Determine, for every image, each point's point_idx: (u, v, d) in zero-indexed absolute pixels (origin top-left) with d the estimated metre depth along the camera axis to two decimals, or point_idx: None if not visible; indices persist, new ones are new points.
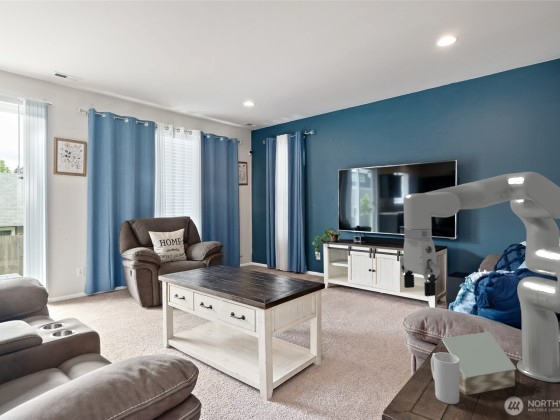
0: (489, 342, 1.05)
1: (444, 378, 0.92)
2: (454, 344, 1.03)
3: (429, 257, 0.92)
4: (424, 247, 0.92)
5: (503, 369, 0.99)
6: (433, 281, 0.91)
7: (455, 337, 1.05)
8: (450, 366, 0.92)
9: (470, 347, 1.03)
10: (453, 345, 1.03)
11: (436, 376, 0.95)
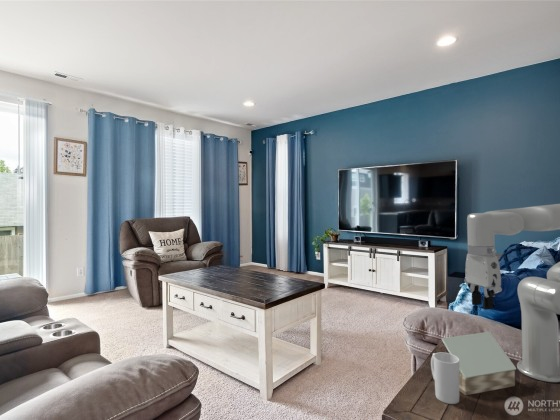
0: (489, 342, 1.05)
1: (444, 378, 0.92)
2: (454, 344, 1.03)
3: (494, 272, 1.00)
4: (490, 263, 1.01)
5: (503, 369, 0.99)
6: (491, 297, 1.02)
7: (455, 337, 1.05)
8: (450, 366, 0.92)
9: (470, 347, 1.03)
10: (453, 345, 1.03)
11: (436, 376, 0.95)
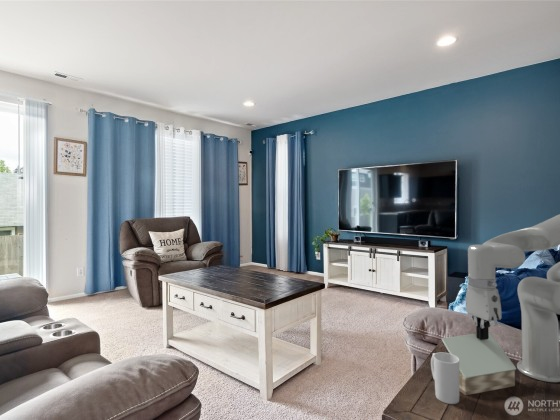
0: (489, 342, 1.05)
1: (444, 378, 0.93)
2: (454, 344, 1.03)
3: (495, 305, 1.01)
4: (490, 296, 1.01)
5: (503, 369, 0.99)
6: None
7: (455, 337, 1.05)
8: (450, 366, 0.92)
9: (470, 347, 1.03)
10: (453, 345, 1.03)
11: (436, 376, 0.95)
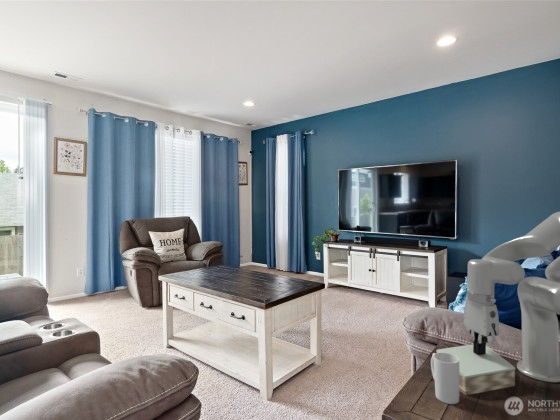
0: None
1: (444, 378, 0.92)
2: (449, 353, 1.06)
3: (493, 321, 1.01)
4: (488, 312, 1.01)
5: (502, 368, 0.99)
6: None
7: (449, 348, 1.08)
8: (450, 366, 0.92)
9: (465, 354, 1.05)
10: None
11: (436, 376, 0.95)
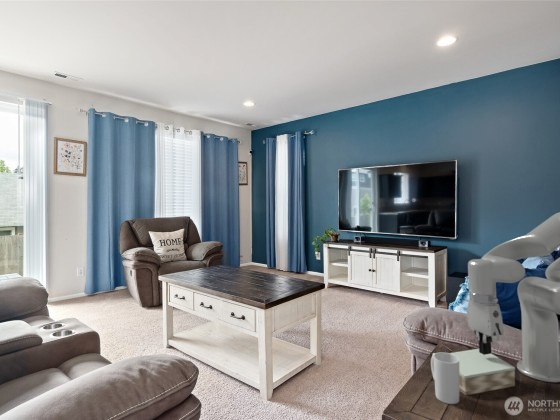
0: None
1: (444, 378, 0.92)
2: None
3: (496, 321, 1.01)
4: (491, 312, 1.01)
5: (501, 368, 0.99)
6: None
7: None
8: (450, 366, 0.92)
9: (465, 358, 1.06)
10: None
11: (436, 376, 0.95)
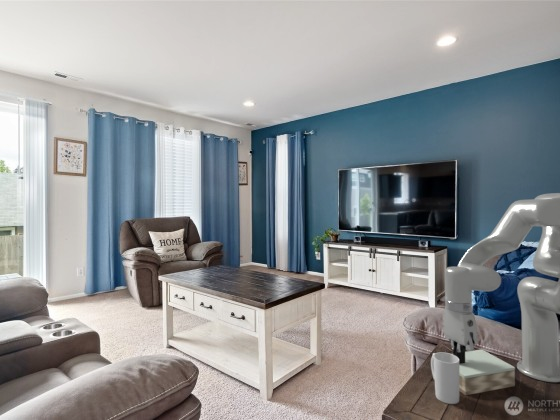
0: (483, 355, 1.08)
1: (444, 378, 0.92)
2: None
3: (470, 330, 0.99)
4: (466, 321, 0.99)
5: (501, 368, 0.99)
6: None
7: None
8: (450, 366, 0.92)
9: None
10: None
11: (436, 376, 0.95)
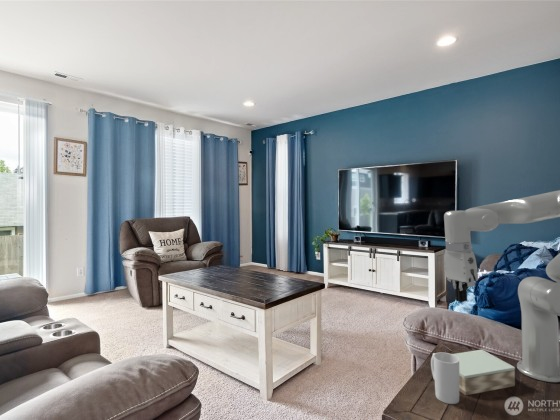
0: (483, 355, 1.08)
1: (444, 378, 0.92)
2: None
3: (471, 267, 1.04)
4: (467, 258, 1.04)
5: (501, 368, 0.99)
6: None
7: None
8: (450, 366, 0.92)
9: (464, 359, 1.06)
10: None
11: (436, 376, 0.95)
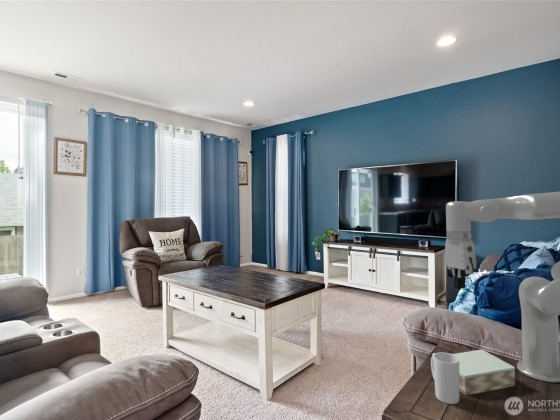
0: (483, 355, 1.08)
1: (444, 378, 0.92)
2: None
3: (470, 255, 1.09)
4: (465, 247, 1.09)
5: (501, 368, 0.99)
6: None
7: None
8: (450, 366, 0.92)
9: (464, 359, 1.06)
10: None
11: (436, 376, 0.95)
